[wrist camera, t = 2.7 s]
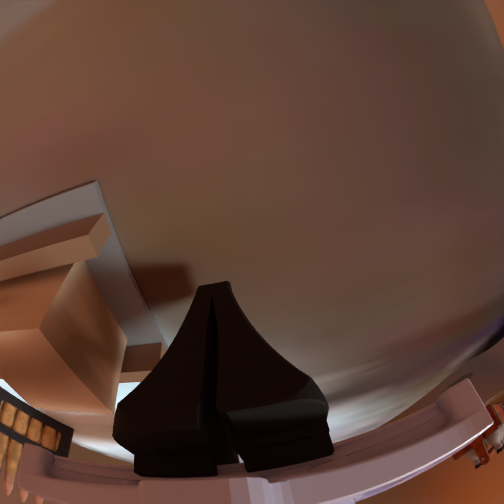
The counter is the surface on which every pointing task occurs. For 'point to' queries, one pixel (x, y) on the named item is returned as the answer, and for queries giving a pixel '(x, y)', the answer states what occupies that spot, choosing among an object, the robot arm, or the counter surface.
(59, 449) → the ammunition clip
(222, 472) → the robot arm
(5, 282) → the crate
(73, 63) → the counter surface
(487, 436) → the milk bottle holder
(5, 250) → the bay
